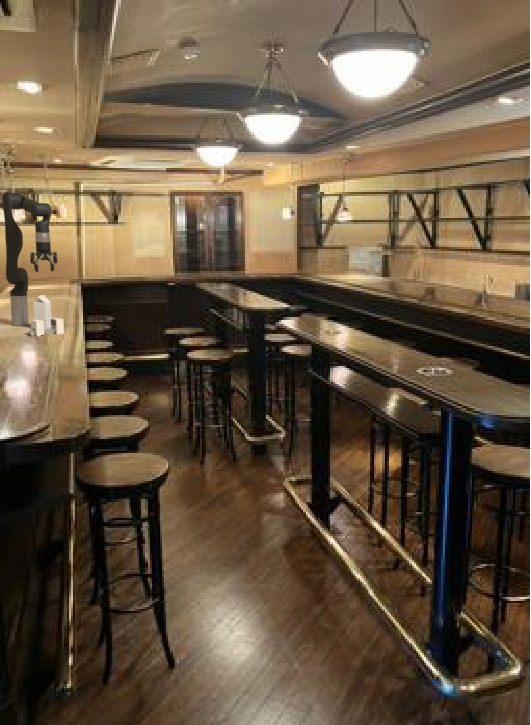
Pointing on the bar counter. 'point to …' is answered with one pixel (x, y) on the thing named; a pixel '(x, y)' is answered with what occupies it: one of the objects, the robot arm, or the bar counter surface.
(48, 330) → the rail
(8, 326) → the bar counter surface
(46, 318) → the milk carton
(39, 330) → the cream rectangular block
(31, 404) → the bar counter surface
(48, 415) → the bar counter surface
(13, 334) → the bar counter surface
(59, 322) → the block
